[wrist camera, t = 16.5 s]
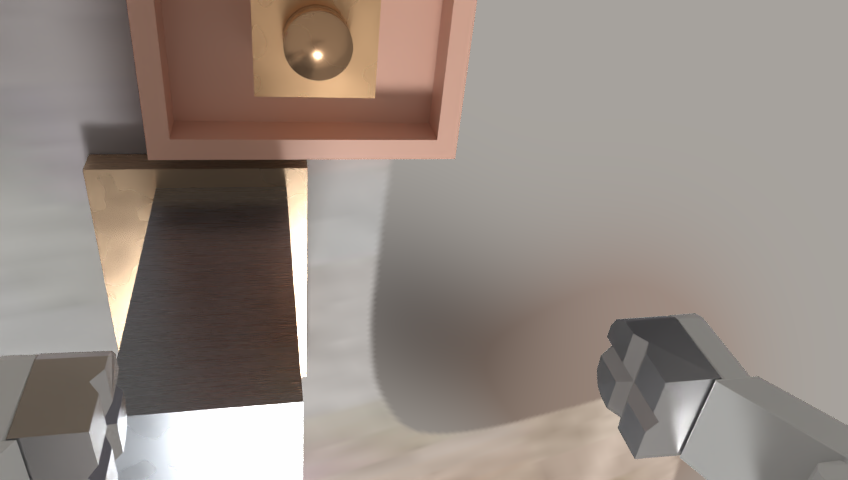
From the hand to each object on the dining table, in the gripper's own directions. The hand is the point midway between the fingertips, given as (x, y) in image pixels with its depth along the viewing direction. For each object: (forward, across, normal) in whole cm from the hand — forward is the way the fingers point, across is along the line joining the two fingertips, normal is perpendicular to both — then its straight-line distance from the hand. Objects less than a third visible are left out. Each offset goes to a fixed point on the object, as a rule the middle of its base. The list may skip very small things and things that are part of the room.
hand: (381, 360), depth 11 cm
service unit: (+23, +5, +15) cm, 28 cm away
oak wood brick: (+22, 0, 0) cm, 23 cm away
